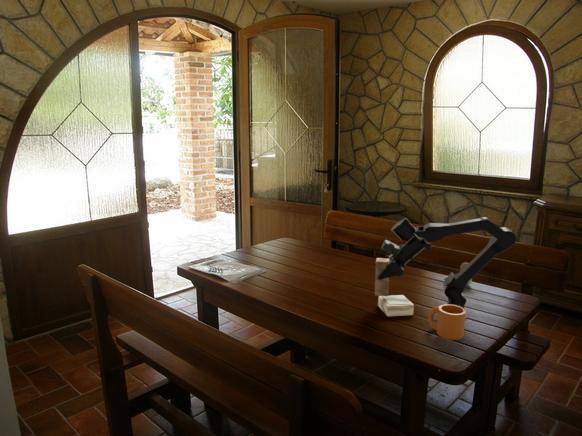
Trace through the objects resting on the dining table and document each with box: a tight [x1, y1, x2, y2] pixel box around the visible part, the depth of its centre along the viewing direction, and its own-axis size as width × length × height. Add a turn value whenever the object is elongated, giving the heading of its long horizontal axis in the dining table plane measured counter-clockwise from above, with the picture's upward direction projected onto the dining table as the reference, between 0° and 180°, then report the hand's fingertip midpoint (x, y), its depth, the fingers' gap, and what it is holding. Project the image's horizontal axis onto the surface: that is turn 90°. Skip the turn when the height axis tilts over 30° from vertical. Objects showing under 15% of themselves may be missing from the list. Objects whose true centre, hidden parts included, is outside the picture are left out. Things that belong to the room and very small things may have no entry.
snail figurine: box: [460, 262, 473, 287], centre depth 207 cm, size 5×6×12 cm
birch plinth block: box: [377, 294, 415, 317], centre depth 179 cm, size 10×10×4 cm
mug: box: [427, 303, 467, 341], centre depth 161 cm, size 9×12×9 cm
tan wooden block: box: [374, 257, 390, 297], centre depth 178 cm, size 5×5×13 cm
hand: (378, 276), depth 178 cm, fingers closed on tan wooden block, 5 cm apart
